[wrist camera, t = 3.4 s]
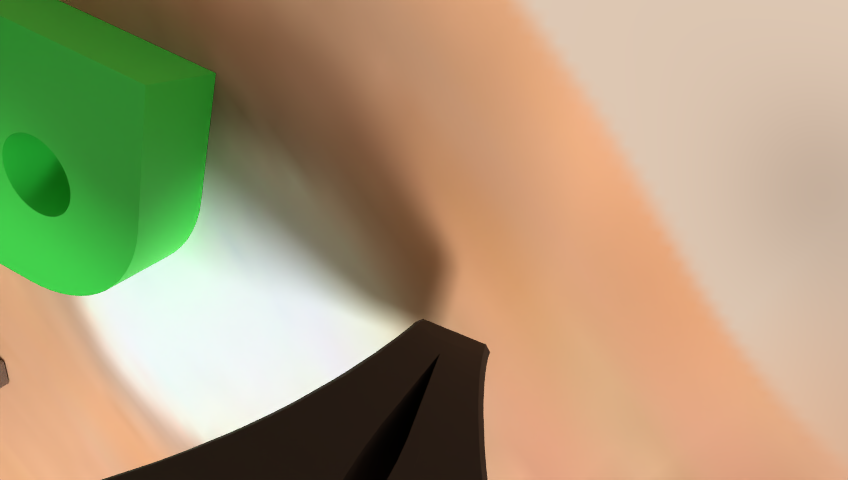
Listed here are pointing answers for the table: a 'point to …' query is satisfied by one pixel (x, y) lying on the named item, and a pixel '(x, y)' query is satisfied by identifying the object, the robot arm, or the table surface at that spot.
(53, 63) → the mechanical part
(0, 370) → the grey frame
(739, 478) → the table surface
